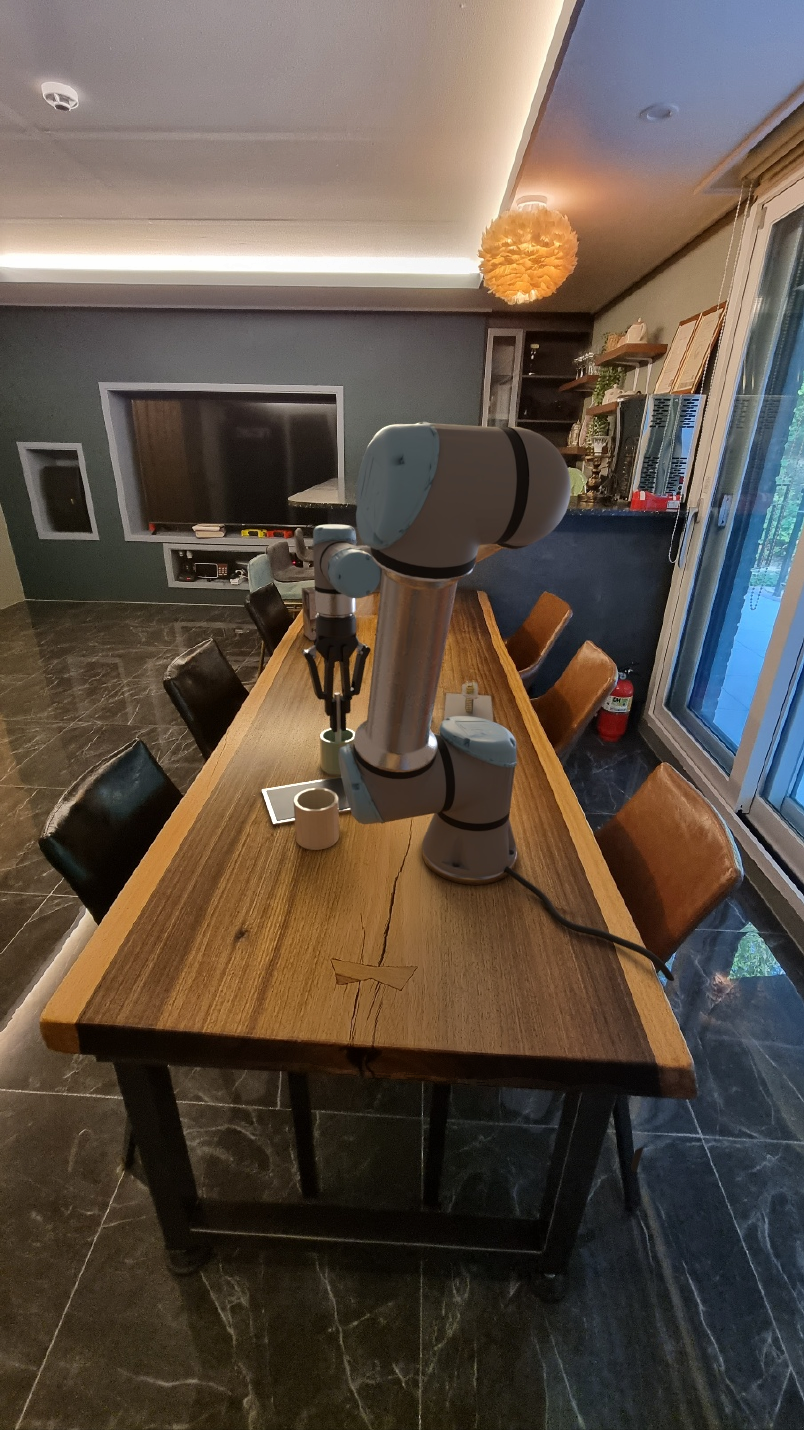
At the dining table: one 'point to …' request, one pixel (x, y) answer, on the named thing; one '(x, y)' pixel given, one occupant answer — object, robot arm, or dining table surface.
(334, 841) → the pen cup cream
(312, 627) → the coffee box
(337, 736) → the stylus
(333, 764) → the pen cup green
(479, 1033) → the dining table surface
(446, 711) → the platform
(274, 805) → the tablet
